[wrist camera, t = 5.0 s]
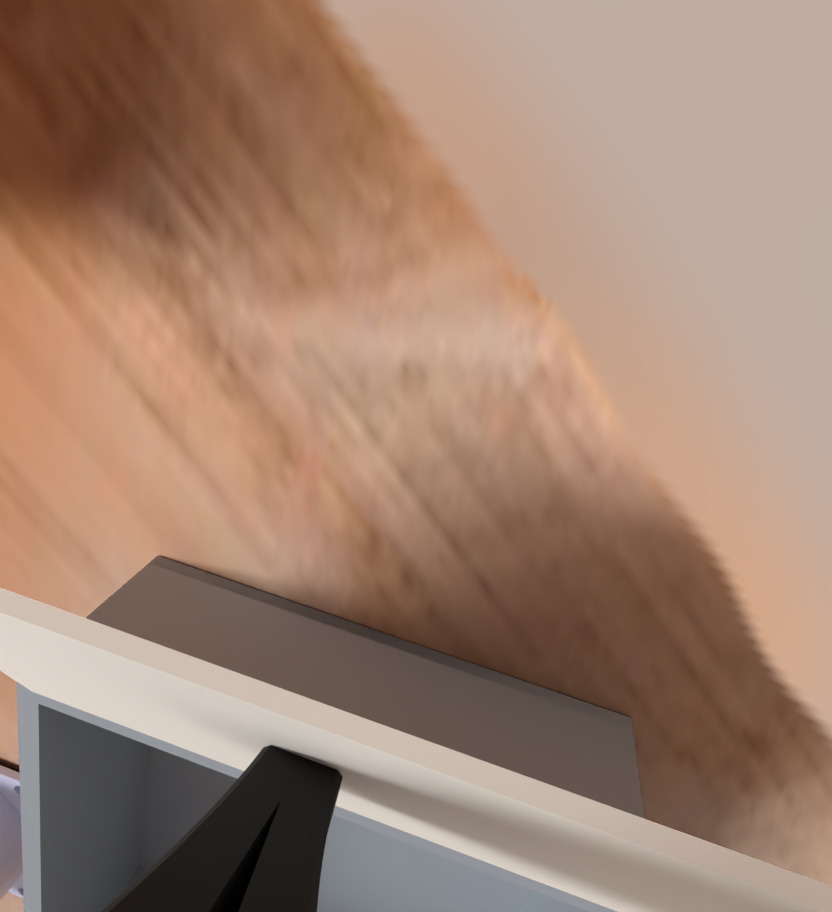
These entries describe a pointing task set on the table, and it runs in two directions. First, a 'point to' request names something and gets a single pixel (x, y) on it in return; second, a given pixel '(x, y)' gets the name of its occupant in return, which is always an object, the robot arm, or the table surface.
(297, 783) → the robot arm
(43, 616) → the flap
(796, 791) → the table surface
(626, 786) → the carton
